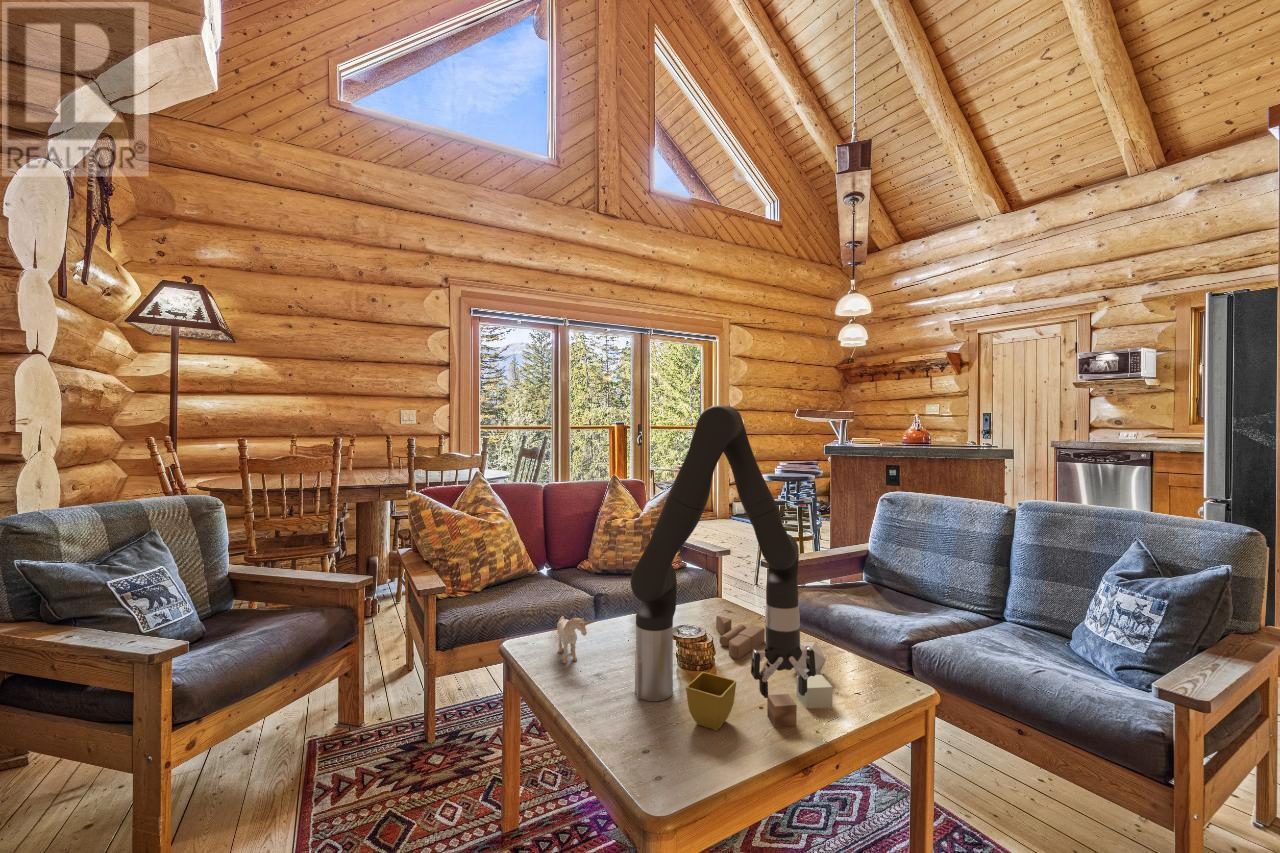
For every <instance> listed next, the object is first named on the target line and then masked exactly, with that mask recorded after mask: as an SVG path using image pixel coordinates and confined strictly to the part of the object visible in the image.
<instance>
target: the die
mask: <svg viewBox="0 0 1280 853" xmlns="http://www.w3.org/2000/svg"><path fill="white" fill-rule="evenodd" d="M806 646H809V647H810V648H811V649H812V650H813V651H814V655H815V668H816V675H821V674H822V673H821V672H822V670H823V668H824V666H825V663H826V661H827V658H826V657H825V655H824V653H823V652H822V650H821V649H820V647H819V645H818V644H817V642H816V641H800V649H802V648H805V647H806ZM798 663H799V665H800V666H801V667H802V669H803V670H804V669H807V668H806V658H805V657H804V656H803V654H802V656H801V657H800V659H799V660H798ZM793 669H794V670H795V672H796V674H797V676H800V674H799V673H798V671H797V670H796V669H795V668H793Z"/></svg>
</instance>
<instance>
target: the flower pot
mask: <svg viewBox="0 0 1280 853" xmlns="http://www.w3.org/2000/svg"><path fill="white" fill-rule="evenodd" d="M736 688H737V680H734V679H732V678H728V677H725V676H720V675H717V674H713V673H709V672H706V671H705V672H704V671H702V672H700V673H699V674H698V675H697V676H696V677H695V678H694V679H693V680H692V681H690V682H689V683H688V684H687V685H686V687H685V690H686V691H685V692H686V699H687V706H688V710H689V712H690V715H691V718H692V719H693V721H694V722H695V723H696V724H697V725H699V726H701V727H702V726H703V727H705V728H708V729H712V730H714V731H718V730H719V729H720V728H721V726H723V724H725V722H726V721H727V719H728V717H729V715H730V714H731V711H732V709H733V706H734V702H735V696H736Z"/></svg>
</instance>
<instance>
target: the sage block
mask: <svg viewBox="0 0 1280 853" xmlns="http://www.w3.org/2000/svg"><path fill="white" fill-rule="evenodd" d="M833 688H834V687H833V686H832V684H830V682H829V681H828V680H827V678H825V676H824V675H823V674H820V675H815V676H810V677H808V679H807V693H805V696H801V694H800V693H799V690H798V675H796V697H797V698H798V700H799V701H800V702H801V703H802V705H803V706H804V707H805V709H823V708H824V709H825V708H826V709H827V708H833V700H834V698H833V697H834V696H833V692H834V691H833V690H834V689H833Z"/></svg>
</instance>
